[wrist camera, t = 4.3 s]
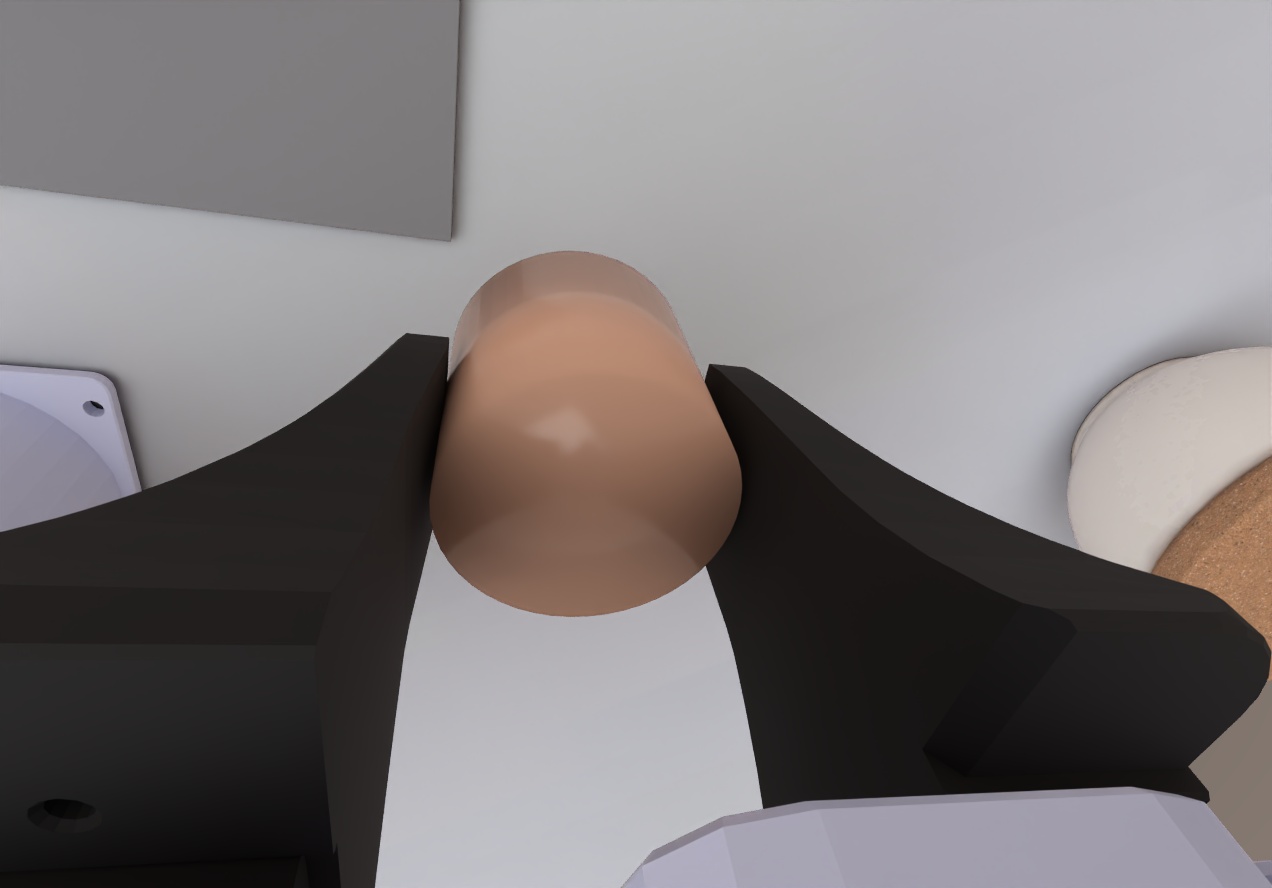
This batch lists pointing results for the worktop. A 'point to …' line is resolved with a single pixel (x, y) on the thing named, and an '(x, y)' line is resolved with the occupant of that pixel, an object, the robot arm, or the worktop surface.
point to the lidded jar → (1184, 477)
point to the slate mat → (238, 107)
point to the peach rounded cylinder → (578, 442)
